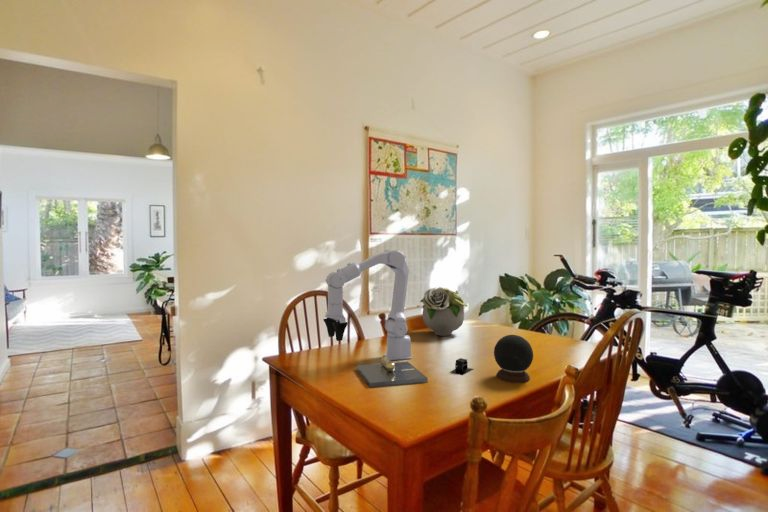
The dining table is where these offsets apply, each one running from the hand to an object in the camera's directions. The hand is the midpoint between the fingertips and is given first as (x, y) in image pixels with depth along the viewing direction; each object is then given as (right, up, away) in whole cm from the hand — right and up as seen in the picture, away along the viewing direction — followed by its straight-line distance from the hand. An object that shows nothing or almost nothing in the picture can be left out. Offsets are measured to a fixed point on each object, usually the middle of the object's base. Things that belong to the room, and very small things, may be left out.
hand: (335, 338), depth 161 cm
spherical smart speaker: (+64, -11, -15) cm, 67 cm away
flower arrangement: (+49, -9, +54) cm, 74 cm away
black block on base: (+47, -11, -7) cm, 49 cm away
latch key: (+20, -8, -10) cm, 24 cm away
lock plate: (+21, -10, -13) cm, 27 cm away
